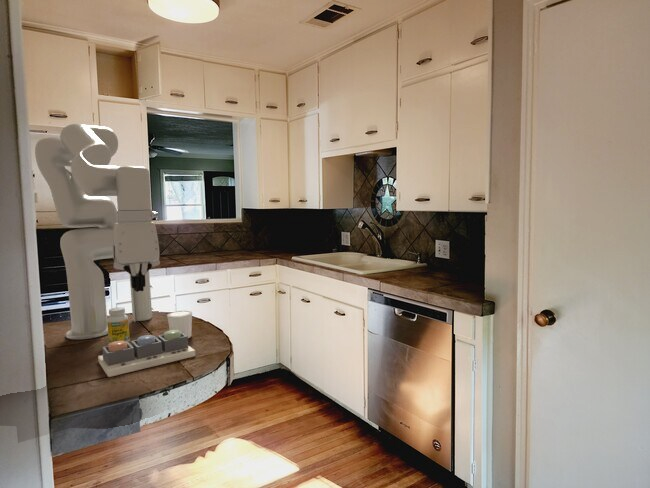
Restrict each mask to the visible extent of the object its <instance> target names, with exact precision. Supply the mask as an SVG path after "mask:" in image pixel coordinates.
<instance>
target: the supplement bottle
mask: <svg viewBox="0 0 650 488" xmlns="http://www.w3.org/2000/svg"><path fill="white" fill-rule="evenodd" d="M125 313H126V309H125V307H121V306H120V307H112V308H110V309H108V314H109V316H108V317H107V326H108V334H107V335H108V344H109V343H112V342H115V341H126V342H129V343H130V342H131V336H130V325H129V317H128V315H126V314H125Z"/></svg>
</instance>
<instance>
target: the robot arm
mask: <svg viewBox="0 0 650 488" xmlns="http://www.w3.org/2000/svg"><path fill="white" fill-rule="evenodd" d="M118 149H119V138H118V136H117V134H116V133H115V131H114V130H113V129H111V128H110V127H108V126H107V127H106V126H101V125H92V124H84V123H73V124H67V125H66V126H64V128H62V129H61V131H60V136H58V137H57V136H56V137H55V136H54V137H51V136H50V137H49V136H48V137H44V138H41V139H39V140H38V141H37V143H36V144H35V148H34V155H35V156H34V157H35V161H36V165H37V168H38V169H39V172H40V173H41V175H42V177H43V179H44V180H45V182H46V183H47V186H48V187H49V190H50V192H51V197H52V200H53V204H54V208H55V210H56V214H57V218H58V220H59V222H60V224H61V225H62V226H63V227H65V228H69V229H70V228H71V229H70V230H69V231H66V232H64V233H63V234H62V236H61V237H60V242H59V243H60V244H59V245H60V250H61V254H62V257H63V261H64V265H65V271H66V272H65V273H66V280H67V289H68V301H69V313H70V323H71V328H70V329H69V330H68V331H66V332H65V337H66V338H67V339H69V340H89V339H95V338H99V337H102V336H106V335H108V326H107V319H108V316H107V315H108V314H107V313H108V312H107V301H106V286H105V277H104V273H103V271H102V270H101V268H100V267H99V266H98V265H97V264H96V263H95V262H94V261H98V260H103V259H104V260H105V259H113V261H114V262H113V265H112V266H113V268H114V269H115V270H118V271H119V270H121V271H125V272H127V273H128V274H129V275H130V274H131V287H132V288H134V290H135V291H136V292H139V291H144V288H143V287H145V275H146V274H147V272H148V271H149V272H150V270H151V268H153V267H157V266H160V264H161V261H160V245H159V237H158V233H157V232H158V231H157V228H156V224H155V221H153V219H154V218H158V212H156V211H153V210H152V198H151V197H152V196H151V177H150V175H151V174H150V171H149V169H148V168H147V167H144V166H140V165H139V166H138V165H137V166H135V165H125V166H124V165H122V166H120V165H119V166H117V165H109V164H110V162H111V160H112V157H113V156H114V155H115V154H116V153H117V151H118ZM66 167H70V169H71V171H70V170H69V169H67V168H66ZM109 197H116V202H117V207H116V205H115V203H114V201H113V200H112V199H111V198H109ZM73 228H75V229H73ZM148 262H149V263H148ZM136 263H140V265H139V272H138V274H137V273H136V268H135V264H136ZM131 287H130V288H131Z"/></svg>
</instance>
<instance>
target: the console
mask: <svg viewBox="0 0 650 488" xmlns="http://www.w3.org/2000/svg"><path fill="white" fill-rule="evenodd" d="M101 350H102V355H98V356H97V360H98V363H99V365H100V367H101V368H102V370H103V371H104V372H105V374H106V375H107V377H108V378H110V377H114V376H119V375H123V374H126V373H127V374H128V373H130V372H131V373H132V372H135V371H139V370H143V369H147V368H152V367H156V366H160V365H164V364H167V363H169V364H170V363H172V362H177V361H180V360H184V359H188V358H189V359H190V358H193V357H196V349H194V348H192V347H191V346H190V345H189V338H188V336H187V335H185V334H184V333H182V332H181V337H179V338H175V339H170V340H165V339H164V334H160V335H157V337H156V336H155V343H151V344H146V345H142V346H138V342H137V339H134V340H130V341H129V342H127V349H123V350H118V351H113V352H109V347H108V345H106V346H102V348H101Z"/></svg>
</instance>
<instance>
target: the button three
mask: <svg viewBox="0 0 650 488" xmlns="http://www.w3.org/2000/svg"><path fill="white" fill-rule="evenodd" d="M163 335H164V339H165V340H170V339H175V338H179V337H181V331H180V330H166V331H164V332H163Z"/></svg>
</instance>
